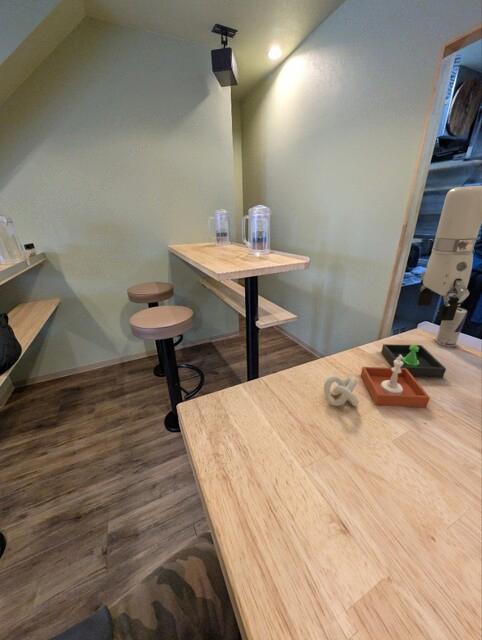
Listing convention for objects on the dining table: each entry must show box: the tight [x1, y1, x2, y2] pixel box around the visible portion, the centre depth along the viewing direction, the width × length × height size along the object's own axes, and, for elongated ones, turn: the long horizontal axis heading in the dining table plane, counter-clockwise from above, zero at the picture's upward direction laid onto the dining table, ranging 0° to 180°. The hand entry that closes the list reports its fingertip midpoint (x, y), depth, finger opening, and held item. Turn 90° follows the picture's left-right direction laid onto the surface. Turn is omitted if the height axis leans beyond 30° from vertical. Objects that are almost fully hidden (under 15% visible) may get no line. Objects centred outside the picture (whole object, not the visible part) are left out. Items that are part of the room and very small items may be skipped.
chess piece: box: [380, 355, 403, 395], centre depth 61 cm, size 5×5×10 cm
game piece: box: [402, 344, 419, 367], centre depth 72 cm, size 4×4×6 cm
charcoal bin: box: [380, 343, 447, 379], centre depth 73 cm, size 11×12×3 cm
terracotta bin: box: [360, 366, 431, 408], centre depth 63 cm, size 11×11×3 cm
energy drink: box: [435, 306, 468, 348], centre depth 81 cm, size 5×5×12 cm
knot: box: [323, 375, 360, 407], centre depth 60 cm, size 8×8×6 cm
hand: (433, 312), depth 66 cm, fingers open, 9 cm apart
